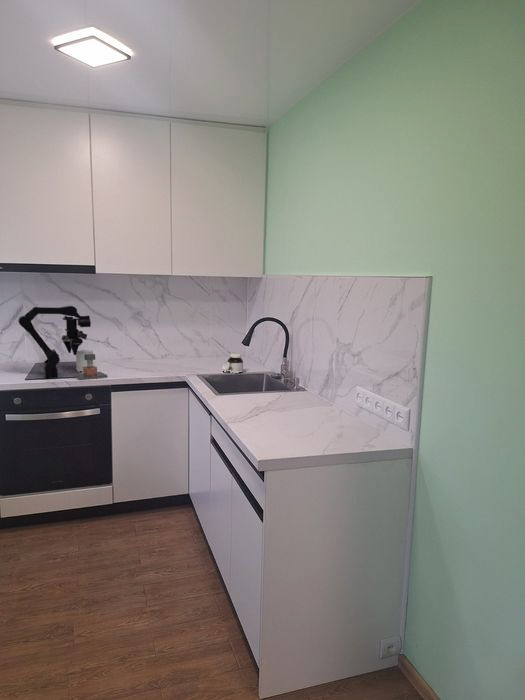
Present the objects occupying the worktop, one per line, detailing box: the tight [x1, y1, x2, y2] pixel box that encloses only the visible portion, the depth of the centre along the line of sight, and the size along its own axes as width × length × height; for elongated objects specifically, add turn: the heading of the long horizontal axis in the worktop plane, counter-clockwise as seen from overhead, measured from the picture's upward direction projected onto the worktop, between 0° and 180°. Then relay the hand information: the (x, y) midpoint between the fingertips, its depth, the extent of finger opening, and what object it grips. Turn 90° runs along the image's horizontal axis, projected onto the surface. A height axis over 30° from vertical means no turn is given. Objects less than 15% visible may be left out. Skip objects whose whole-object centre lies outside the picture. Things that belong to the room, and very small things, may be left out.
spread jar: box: [221, 353, 244, 372], centre depth 308 cm, size 12×11×12 cm
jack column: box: [84, 353, 96, 368], centre depth 280 cm, size 5×4×8 cm
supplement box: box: [75, 349, 94, 373], centre depth 298 cm, size 7×7×13 cm
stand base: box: [72, 365, 108, 381], centre depth 280 cm, size 16×12×6 cm
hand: (72, 353), depth 282 cm, fingers open, 9 cm apart
